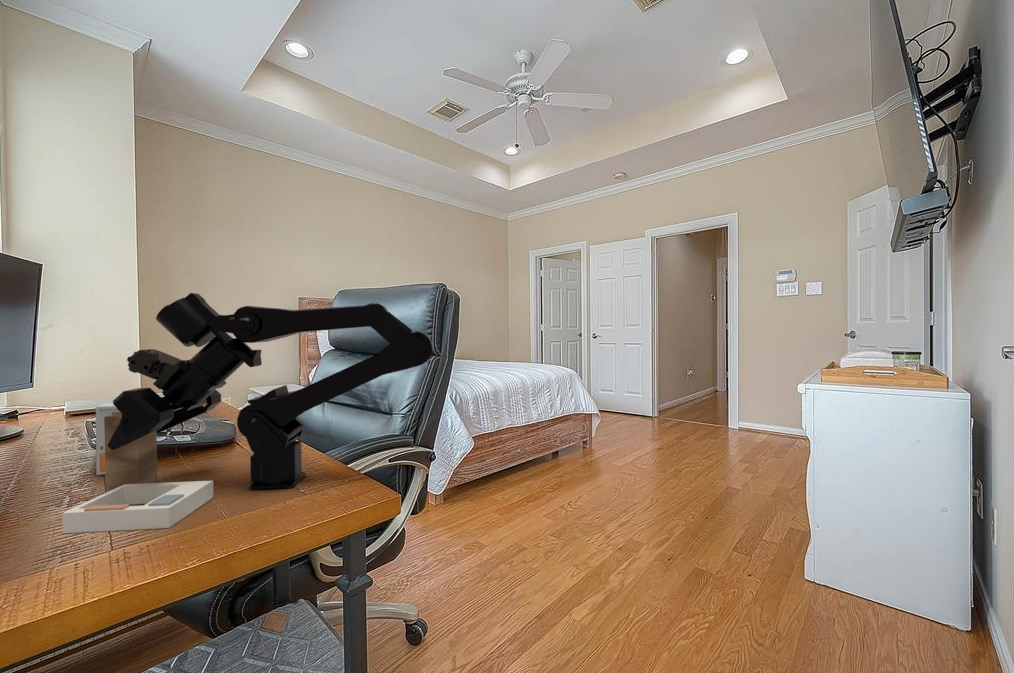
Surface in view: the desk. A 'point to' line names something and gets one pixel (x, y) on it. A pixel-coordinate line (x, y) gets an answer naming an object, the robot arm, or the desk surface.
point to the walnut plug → (129, 458)
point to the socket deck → (138, 507)
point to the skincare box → (101, 435)
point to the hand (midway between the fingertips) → (132, 439)
